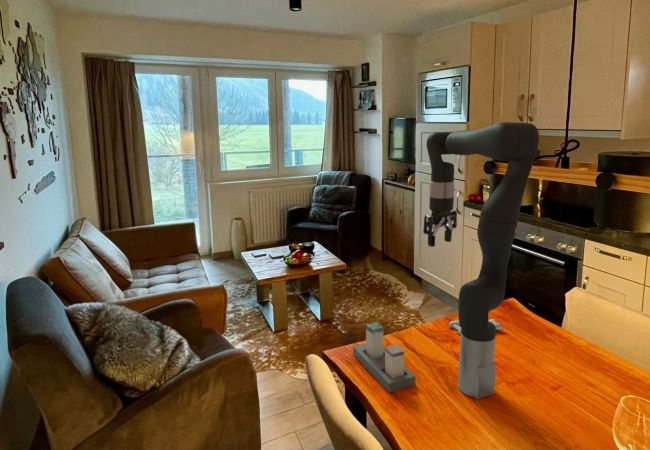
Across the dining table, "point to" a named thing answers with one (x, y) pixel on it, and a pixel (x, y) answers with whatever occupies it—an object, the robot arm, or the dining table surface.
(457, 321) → the gun
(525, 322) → the dining table surface
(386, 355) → the two-hole peg board
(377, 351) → the plug
